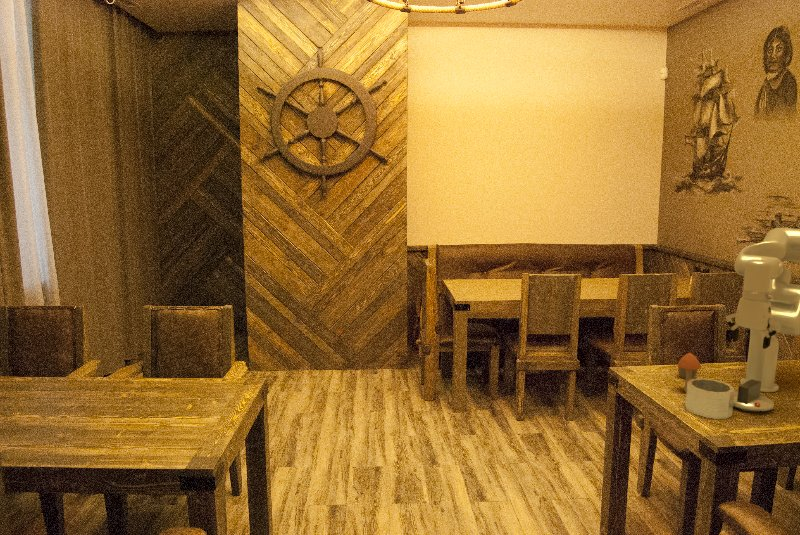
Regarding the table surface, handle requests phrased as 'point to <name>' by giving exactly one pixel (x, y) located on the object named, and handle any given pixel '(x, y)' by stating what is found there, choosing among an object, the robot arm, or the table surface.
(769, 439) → the table surface
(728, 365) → the table surface
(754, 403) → the lid
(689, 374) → the mushroom
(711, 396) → the pot
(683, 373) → the vase
